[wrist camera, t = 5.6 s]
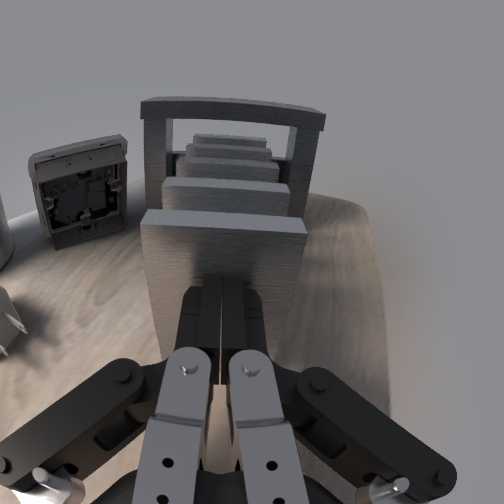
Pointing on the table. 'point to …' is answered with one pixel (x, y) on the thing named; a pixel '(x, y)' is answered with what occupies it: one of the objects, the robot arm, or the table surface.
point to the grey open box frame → (168, 108)
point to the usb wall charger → (8, 321)
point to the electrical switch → (81, 189)
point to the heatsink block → (222, 233)
